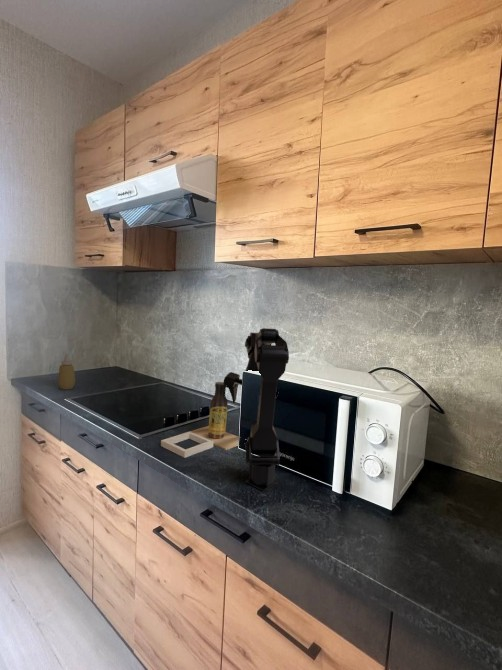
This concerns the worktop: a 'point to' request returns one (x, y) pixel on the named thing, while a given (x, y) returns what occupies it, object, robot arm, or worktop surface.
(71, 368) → the squeeze bottle
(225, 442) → the wooden board
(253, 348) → the robot arm
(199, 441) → the collar
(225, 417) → the sauce bottle
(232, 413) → the worktop surface
